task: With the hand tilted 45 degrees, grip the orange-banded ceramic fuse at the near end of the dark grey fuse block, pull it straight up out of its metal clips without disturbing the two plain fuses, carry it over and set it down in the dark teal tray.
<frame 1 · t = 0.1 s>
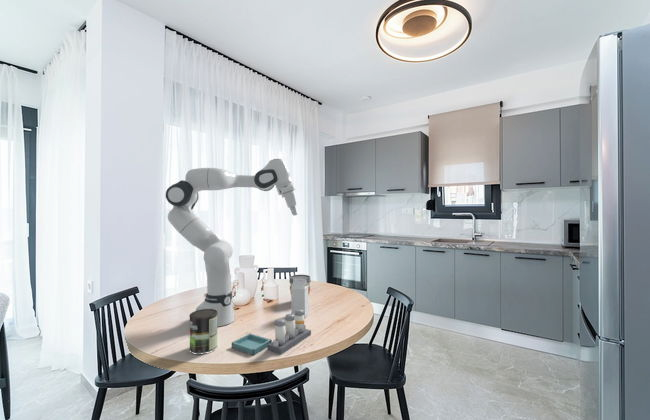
hand: (295, 215, 149), 52 cm above the table, tool tilted 20°, fingers open, 8 cm apart
marked fuse: (299, 331, 126), point 2 cm above the table, touching fuse block
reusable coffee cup: (300, 302, 172), on the table
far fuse: (280, 343, 115), point 2 cm above the table, touching fuse block
tray: (251, 346, 117), on the table
middle fuse: (290, 337, 121), point 2 cm above the table, touching fuse block
fuse block: (290, 341, 121), on the table
milk carton: (300, 316, 150), on the table
coffee can: (203, 349, 115), on the table
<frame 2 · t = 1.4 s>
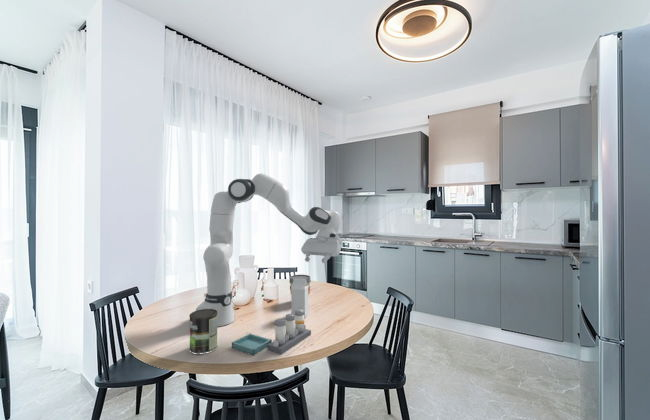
hand: (314, 261, 137), 30 cm above the table, tool tilted 45°, fingers open, 8 cm apart
nothing on the table moved.
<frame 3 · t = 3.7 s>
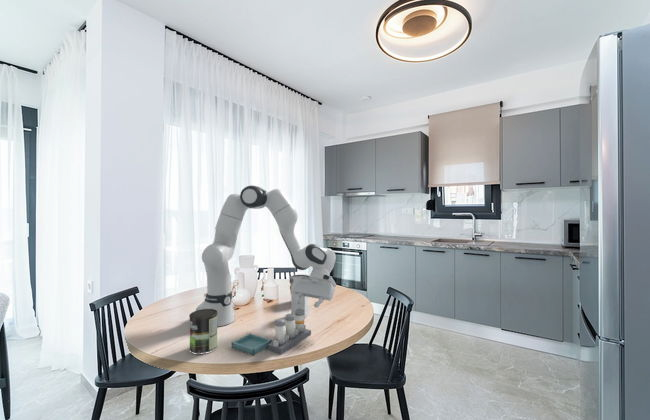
hand: (307, 305, 131), 12 cm above the table, tool tilted 45°, fingers open, 8 cm apart
nothing on the table moved.
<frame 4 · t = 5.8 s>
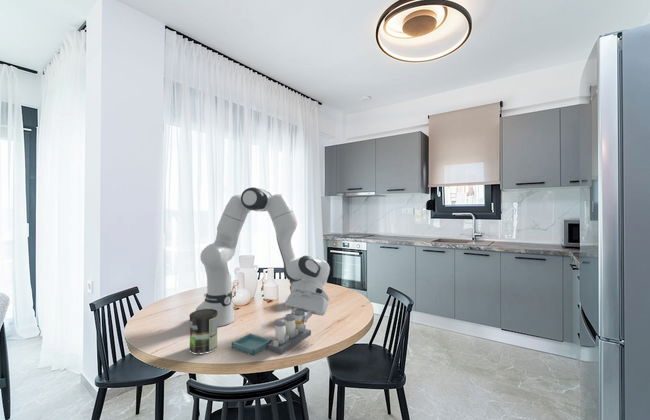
hand: (298, 320, 126), 7 cm above the table, tool tilted 45°, fingers closed on marked fuse, 4 cm apart
marked fuse: (299, 331, 126), point 2 cm above the table, touching fuse block, gripper
everything else where it was.
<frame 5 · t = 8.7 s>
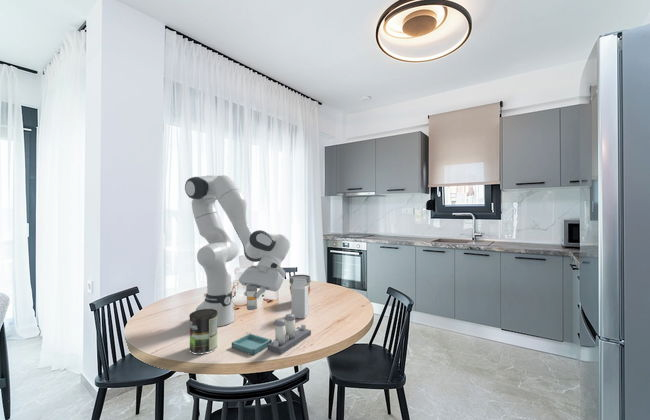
hand: (250, 296, 116), 20 cm above the table, tool tilted 45°, fingers closed on marked fuse, 4 cm apart
marked fuse: (251, 308, 117), point 15 cm above the table, touching gripper
everything else where it was.
when the fingers open (7 cm above the table, at t = 11.6 s): marked fuse drops 2 cm, resting on tray.
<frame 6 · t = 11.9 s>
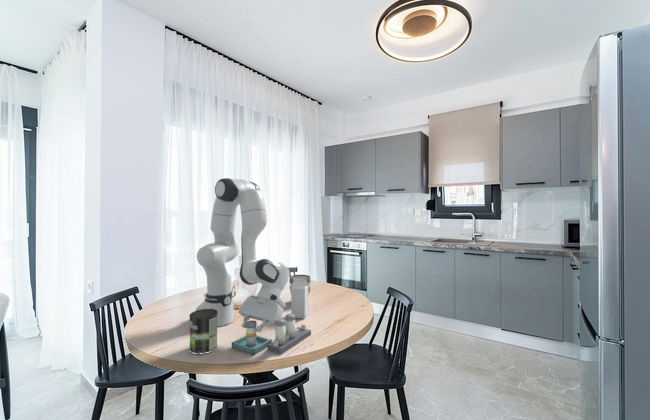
hand: (250, 329, 116), 7 cm above the table, tool tilted 45°, fingers open, 6 cm apart
marked fuse: (251, 344, 117), point 1 cm above the table, touching tray
everything else where it was.
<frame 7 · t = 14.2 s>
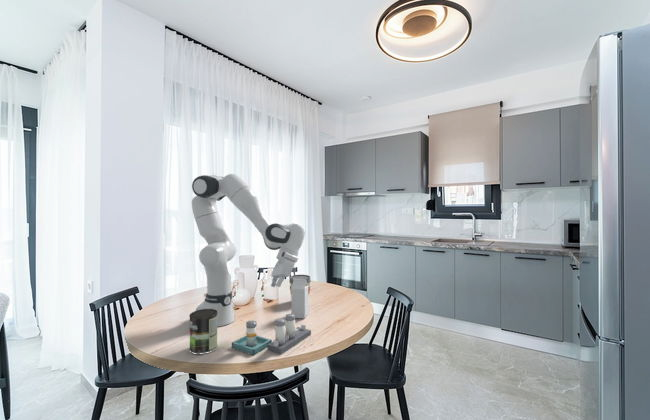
hand: (275, 286, 129), 21 cm above the table, tool tilted 30°, fingers open, 8 cm apart
nothing on the table moved.
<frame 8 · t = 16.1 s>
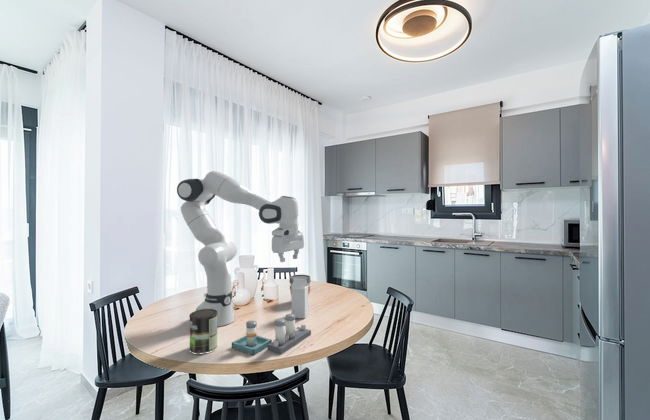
hand: (289, 260, 136), 31 cm above the table, tool pointing down, fingers open, 8 cm apart
nothing on the table moved.
at the end: marked fuse inside the target area on the tray (0.1 cm from its centre), point 0.6 cm above the tray's base; the gripper is holding nothing; middle fuse moved 0.0 cm from its start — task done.
